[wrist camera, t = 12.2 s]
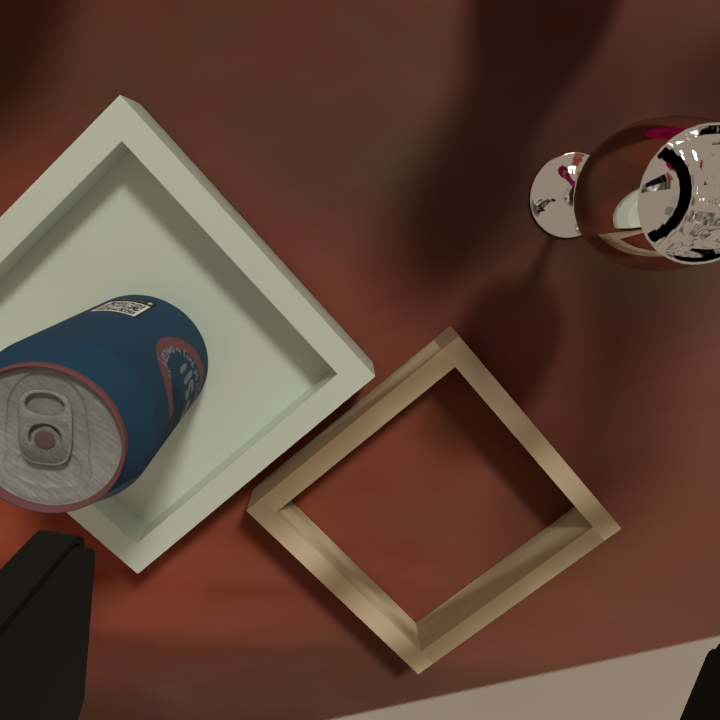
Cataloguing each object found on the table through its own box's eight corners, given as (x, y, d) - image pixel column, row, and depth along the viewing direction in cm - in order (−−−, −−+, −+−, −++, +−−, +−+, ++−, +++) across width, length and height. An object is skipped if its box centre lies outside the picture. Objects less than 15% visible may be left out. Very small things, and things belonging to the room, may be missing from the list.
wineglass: (498, 222, 31) (588, 238, 20) (551, 119, 30) (681, 71, 19) (589, 267, 32) (726, 307, 21) (644, 168, 31) (824, 151, 19)
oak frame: (602, 506, 36) (621, 528, 34) (413, 644, 39) (418, 674, 36) (450, 325, 33) (459, 335, 30) (252, 489, 35) (246, 510, 33)
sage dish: (372, 361, 33) (375, 376, 31) (152, 545, 36) (137, 573, 33) (140, 104, 29) (120, 94, 27) (-87, 333, 32) (-126, 346, 29)
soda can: (209, 418, 33) (139, 537, 22) (85, 404, 33) (-55, 519, 21) (217, 299, 31) (145, 359, 20) (86, 282, 31) (-67, 334, 19)
